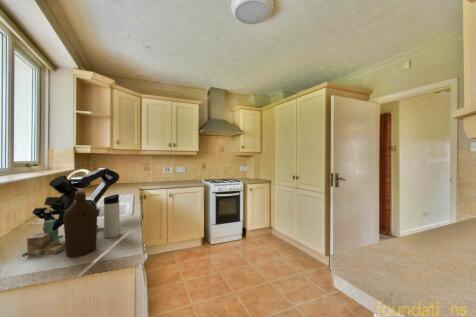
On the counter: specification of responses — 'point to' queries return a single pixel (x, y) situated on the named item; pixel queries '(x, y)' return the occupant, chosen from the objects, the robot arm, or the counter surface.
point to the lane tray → (44, 250)
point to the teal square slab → (53, 235)
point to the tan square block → (61, 243)
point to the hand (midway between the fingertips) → (48, 230)
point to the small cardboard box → (53, 249)
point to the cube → (38, 241)
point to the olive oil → (80, 227)
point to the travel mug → (111, 216)
